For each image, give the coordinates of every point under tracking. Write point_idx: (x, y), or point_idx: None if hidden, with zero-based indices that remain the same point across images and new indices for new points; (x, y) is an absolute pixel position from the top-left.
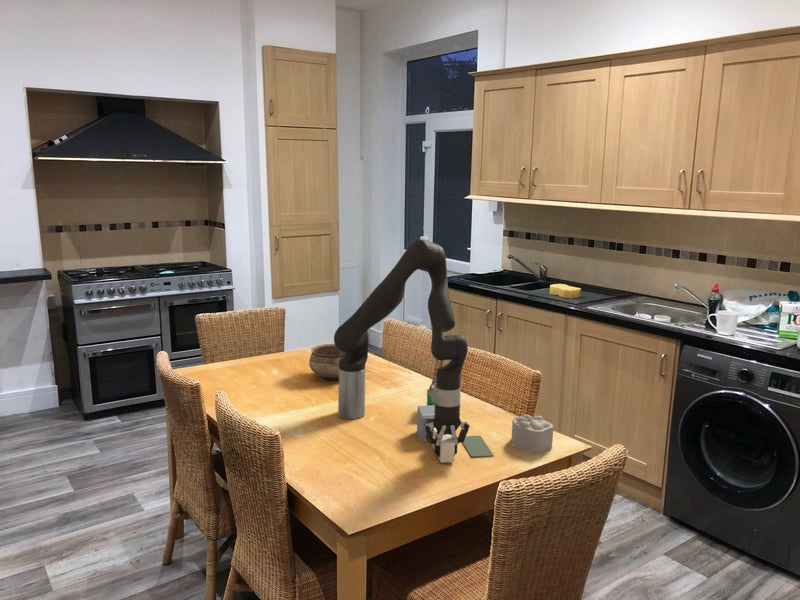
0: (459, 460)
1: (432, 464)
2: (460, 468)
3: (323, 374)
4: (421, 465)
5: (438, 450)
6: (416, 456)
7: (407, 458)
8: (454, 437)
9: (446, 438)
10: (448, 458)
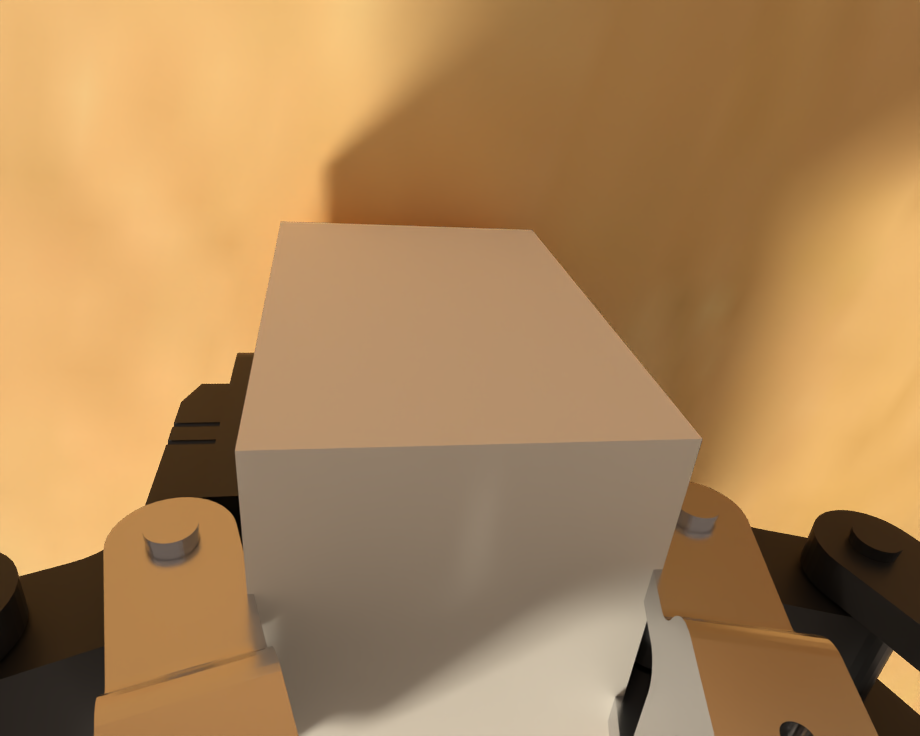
0: (155, 334)
1: (642, 255)
2: (186, 2)
3: None
4: (809, 246)
5: None
6: (738, 497)
7: (864, 458)
8: (210, 679)
9: (426, 709)
10: (403, 251)
